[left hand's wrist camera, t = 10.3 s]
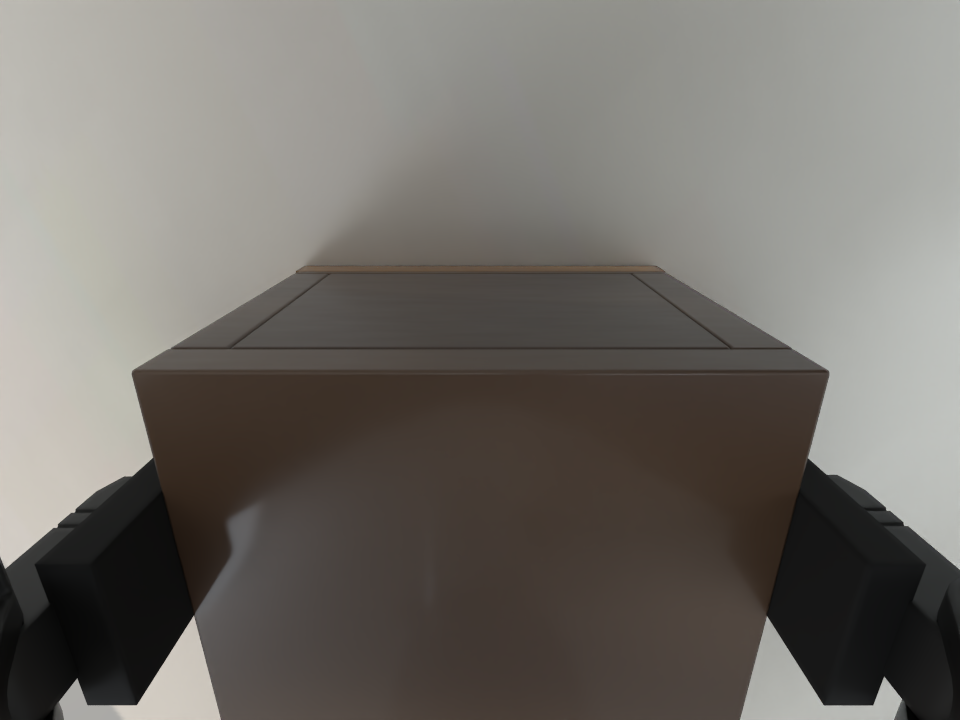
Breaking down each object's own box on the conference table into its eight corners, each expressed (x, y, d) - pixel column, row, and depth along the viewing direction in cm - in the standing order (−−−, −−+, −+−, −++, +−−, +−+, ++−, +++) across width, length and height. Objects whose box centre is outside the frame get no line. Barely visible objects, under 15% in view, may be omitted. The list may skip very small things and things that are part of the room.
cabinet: (615, 604, 20) (699, 881, 12) (345, 604, 20) (261, 880, 12) (656, 265, 16) (832, 370, 8) (304, 265, 16) (127, 370, 8)
